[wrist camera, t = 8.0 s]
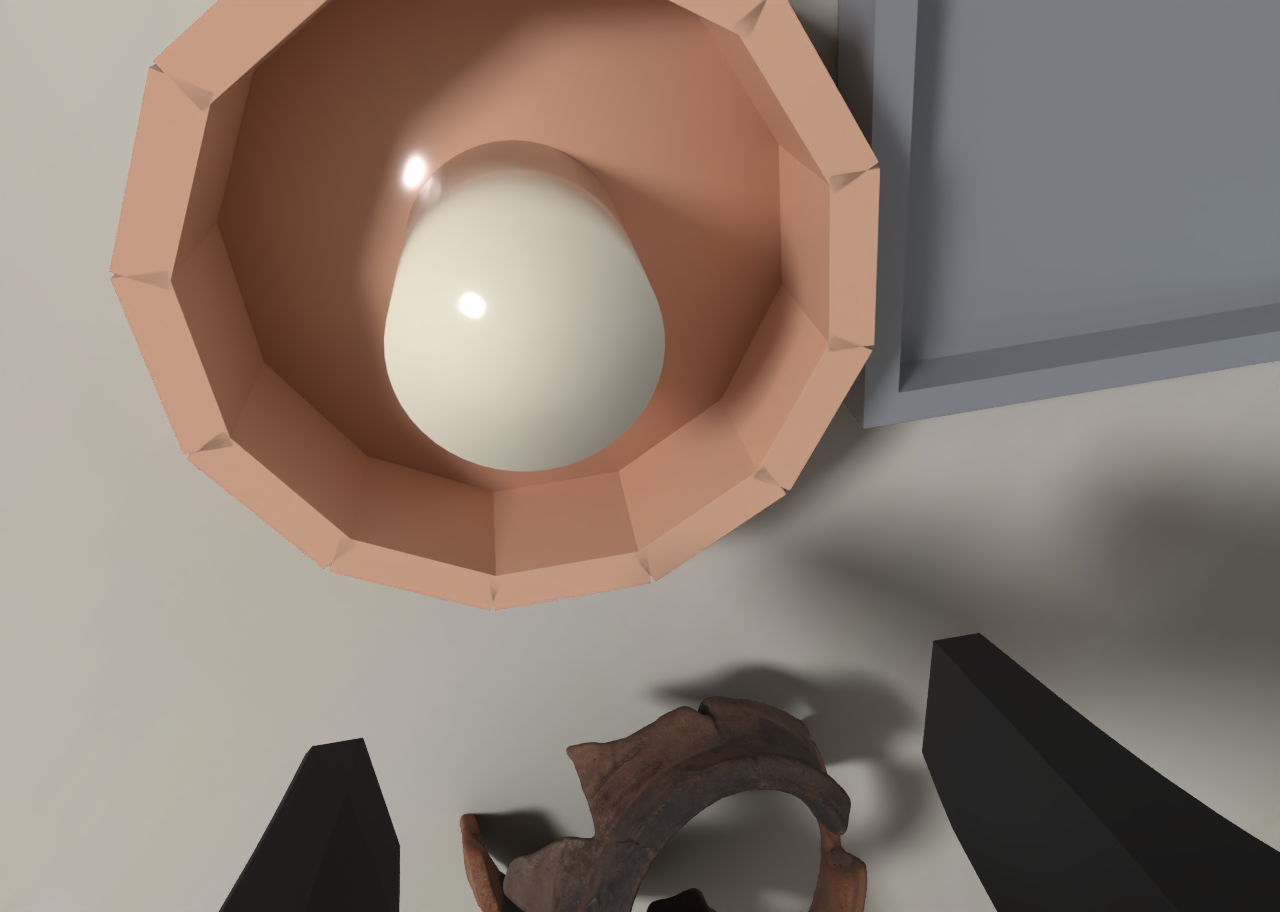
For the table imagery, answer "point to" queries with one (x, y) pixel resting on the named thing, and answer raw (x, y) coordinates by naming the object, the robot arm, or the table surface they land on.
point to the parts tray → (1064, 195)
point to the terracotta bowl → (371, 246)
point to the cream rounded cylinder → (521, 311)
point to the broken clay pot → (671, 812)
